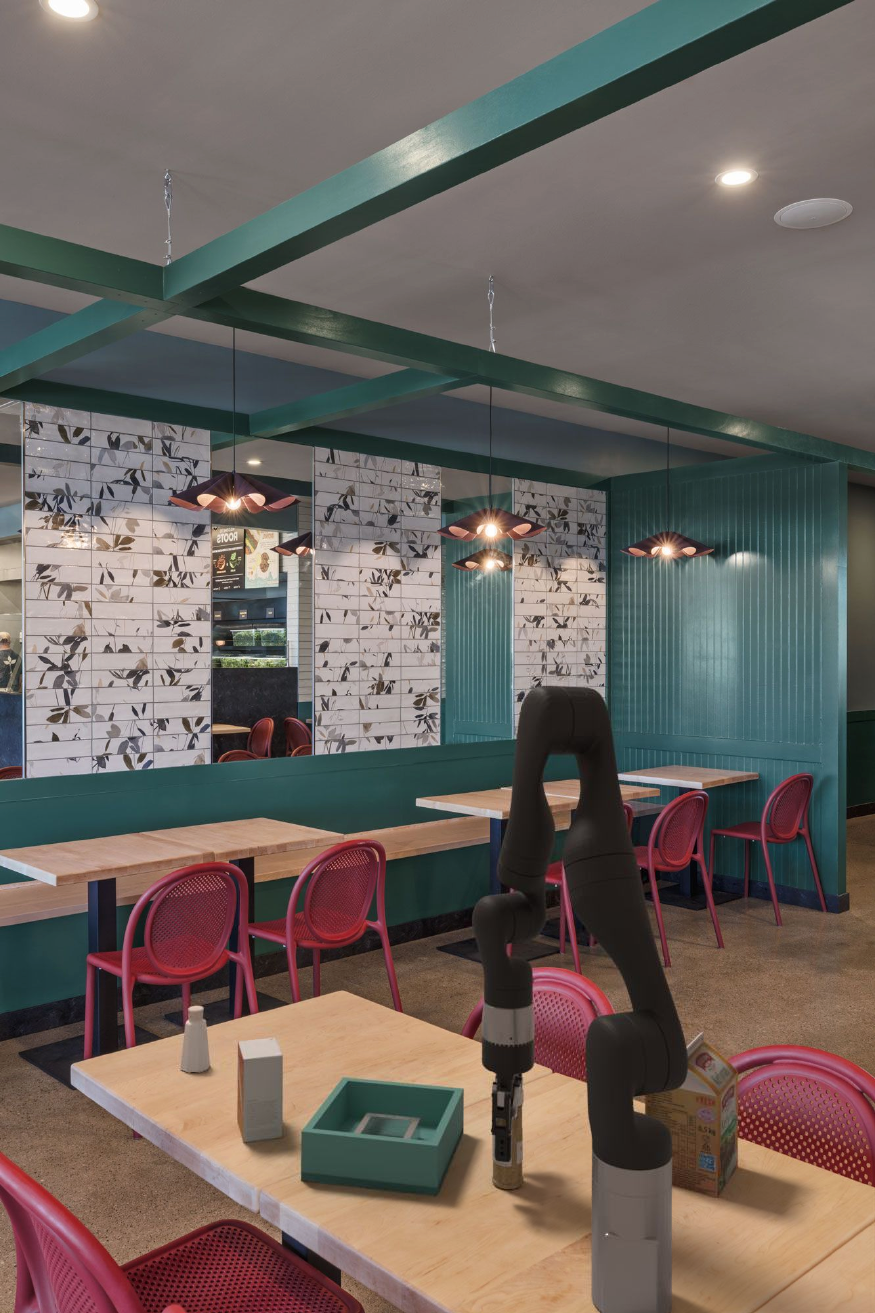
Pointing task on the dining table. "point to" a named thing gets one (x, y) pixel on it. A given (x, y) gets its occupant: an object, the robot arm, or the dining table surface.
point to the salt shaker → (195, 1042)
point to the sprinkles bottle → (511, 1172)
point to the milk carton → (701, 1121)
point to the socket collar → (390, 1126)
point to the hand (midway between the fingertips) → (507, 1146)
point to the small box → (260, 1089)
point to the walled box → (383, 1137)
